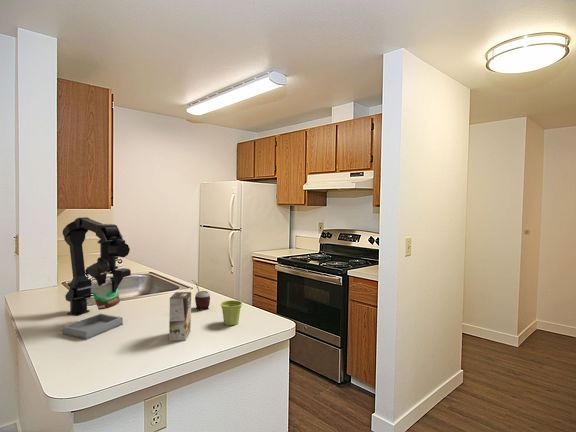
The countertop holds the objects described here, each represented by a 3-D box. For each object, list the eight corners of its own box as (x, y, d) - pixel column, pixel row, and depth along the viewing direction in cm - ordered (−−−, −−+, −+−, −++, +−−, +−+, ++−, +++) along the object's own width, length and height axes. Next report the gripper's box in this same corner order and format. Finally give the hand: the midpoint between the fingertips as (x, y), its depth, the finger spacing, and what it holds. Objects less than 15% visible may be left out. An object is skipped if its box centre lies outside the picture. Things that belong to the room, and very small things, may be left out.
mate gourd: (211, 307, 171) (212, 276, 170) (206, 312, 163) (206, 280, 162) (197, 306, 172) (197, 276, 171) (191, 311, 164) (191, 279, 163)
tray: (62, 334, 133) (62, 327, 133) (100, 320, 149) (100, 313, 149) (86, 339, 129) (86, 331, 129) (122, 324, 145) (122, 317, 145)
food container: (107, 311, 141) (101, 287, 139) (95, 311, 142) (89, 288, 141) (129, 298, 152) (124, 276, 151) (118, 299, 154) (112, 277, 153)
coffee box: (186, 340, 130) (186, 298, 129) (168, 340, 130) (169, 298, 129) (191, 331, 139) (191, 291, 139) (174, 331, 139) (175, 291, 138)
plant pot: (215, 325, 147) (215, 304, 146) (227, 318, 156) (227, 299, 155) (235, 328, 144) (235, 307, 143) (245, 321, 152) (246, 301, 152)
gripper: (73, 256, 141) (73, 294, 141) (110, 259, 135) (110, 299, 135) (96, 252, 151) (96, 287, 152) (131, 255, 145) (131, 292, 146)
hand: (108, 291), depth 146 cm, fingers closed on food container, 6 cm apart
